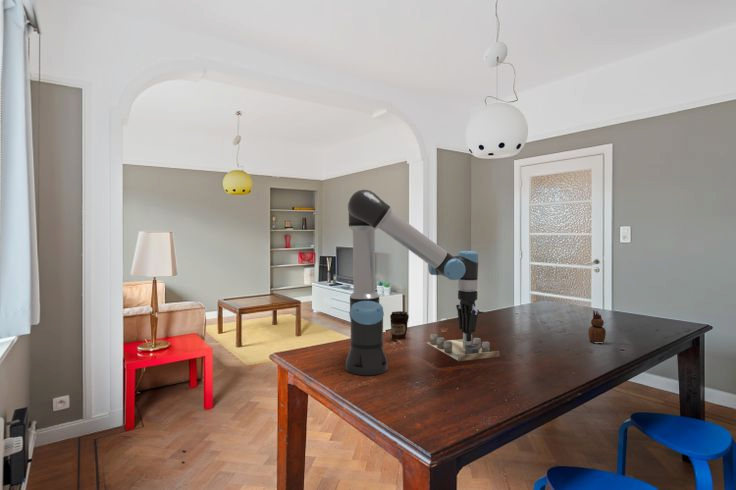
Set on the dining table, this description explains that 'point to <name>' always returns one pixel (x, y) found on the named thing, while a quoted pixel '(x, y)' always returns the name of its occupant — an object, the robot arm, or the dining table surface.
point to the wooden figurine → (597, 329)
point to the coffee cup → (399, 325)
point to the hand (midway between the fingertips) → (466, 348)
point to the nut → (471, 349)
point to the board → (461, 348)
